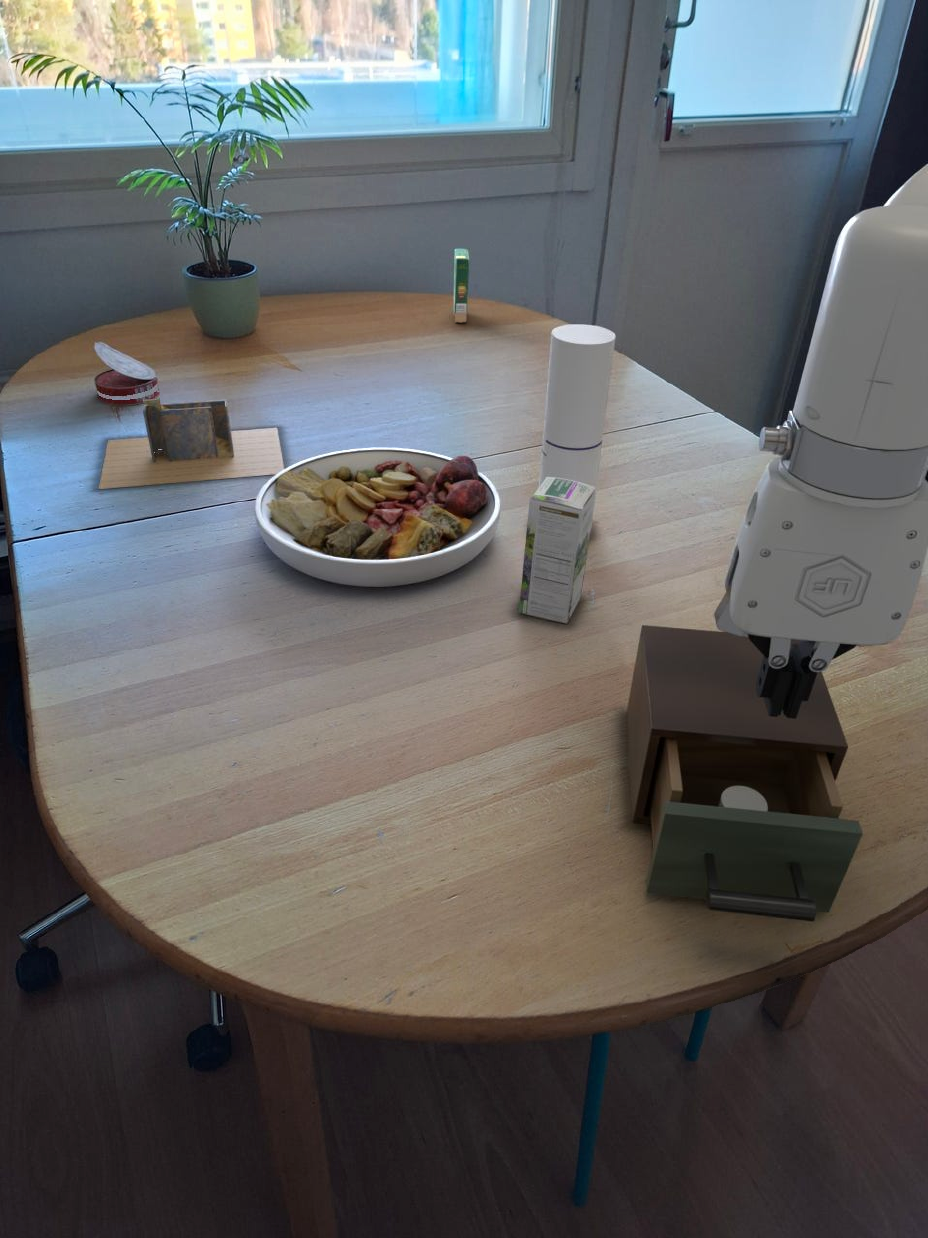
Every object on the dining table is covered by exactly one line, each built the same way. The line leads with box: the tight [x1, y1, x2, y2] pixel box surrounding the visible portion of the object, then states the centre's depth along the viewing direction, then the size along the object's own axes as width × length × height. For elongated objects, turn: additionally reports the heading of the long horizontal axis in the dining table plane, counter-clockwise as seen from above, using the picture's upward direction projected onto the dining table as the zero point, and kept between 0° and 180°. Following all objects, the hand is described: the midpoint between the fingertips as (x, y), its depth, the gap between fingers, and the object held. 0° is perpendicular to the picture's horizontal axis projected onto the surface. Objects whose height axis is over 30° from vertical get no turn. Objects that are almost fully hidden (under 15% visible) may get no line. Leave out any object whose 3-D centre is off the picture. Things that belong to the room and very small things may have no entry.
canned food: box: [93, 341, 161, 407], centre depth 144 cm, size 11×10×10 cm
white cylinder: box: [718, 786, 768, 811], centre depth 67 cm, size 3×3×5 cm
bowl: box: [254, 447, 502, 588], centre depth 108 cm, size 30×30×8 cm
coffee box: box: [453, 248, 470, 314], centre depth 181 cm, size 8×3×13 cm, turn 2°
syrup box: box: [518, 477, 598, 625], centre depth 94 cm, size 6×6×14 cm
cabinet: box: [625, 624, 849, 825], centre depth 74 cm, size 14×15×11 cm
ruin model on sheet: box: [98, 397, 285, 490], centre depth 124 cm, size 25×16×10 cm, turn 104°
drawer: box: [645, 737, 864, 922], centre depth 66 cm, size 17×13×9 cm
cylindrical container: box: [538, 323, 617, 534], centre depth 105 cm, size 7×7×25 cm
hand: (778, 703), depth 59 cm, fingers closed
